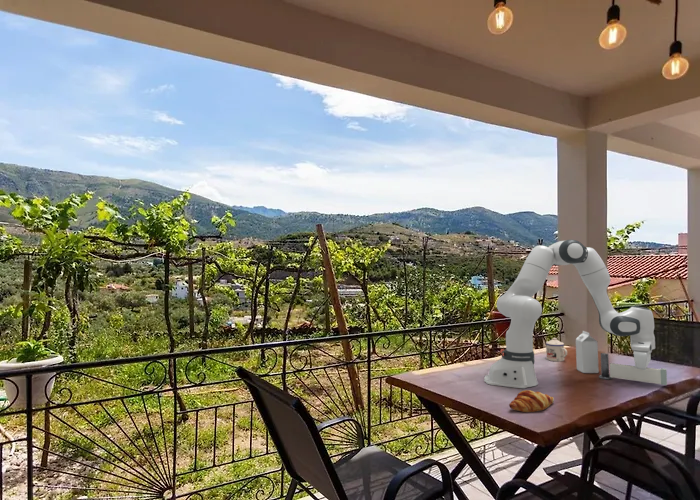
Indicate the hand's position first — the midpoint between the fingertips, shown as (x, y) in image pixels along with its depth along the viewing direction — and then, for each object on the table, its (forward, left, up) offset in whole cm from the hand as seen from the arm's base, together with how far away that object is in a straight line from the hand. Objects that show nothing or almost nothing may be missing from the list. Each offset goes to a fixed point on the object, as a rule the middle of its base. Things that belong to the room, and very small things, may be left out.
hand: (643, 375), depth 184 cm
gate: (-3, -2, -2) cm, 4 cm away
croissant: (-49, -46, -3) cm, 67 cm away
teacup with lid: (-29, +35, -3) cm, 46 cm away
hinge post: (-14, +3, -3) cm, 15 cm away
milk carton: (-19, +14, -3) cm, 24 cm away
